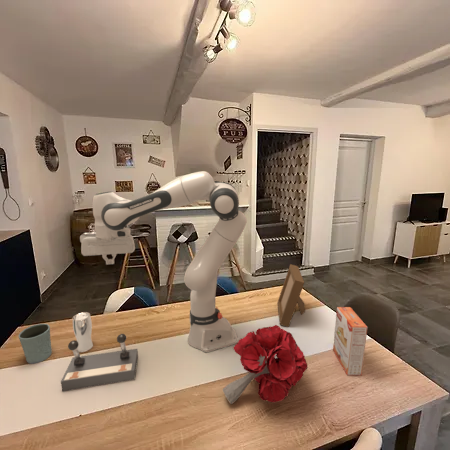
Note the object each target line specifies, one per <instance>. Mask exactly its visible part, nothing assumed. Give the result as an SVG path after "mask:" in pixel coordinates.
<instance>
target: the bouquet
mask: <svg viewBox="0 0 450 450" xmlns="http://www.w3.org/2000/svg"><path fill="white" fill-rule="evenodd" d="M233 350H234V352H235V353H236V354H237V355H239V356H240V359H239V360H240V361H239V362H240V364H241V365H242V367H243V370H245V371H247V372H248V373H246V375H244V376H242V377H239V378H238V379H235V380H233V381H232V382H230V383H228V384H226V385H225V386H224V387H223V388H222V393H224V396H225V399H227V401H228V402H229V404H230V405H232V404H234V403H235V402H236V401H237V400H238V399H239V398H240V397H241V396H242V394H243V393H244V391H245V390H246V388H247V387H248V386H249V384H250V383H252V381H253V380H254V381H255V382H257V383H258V390H257V391H258V392H257V393H258V396H259V398H260V399H261V400H262V401H263V402H269V403H277V402H282V401H283V400H285V399H286V397H288V396H289V393H290V390H291V389H292V388H293V387H295V386H297V383H298V382H299V381H300V380H301V379H302V378H303V376H304V373H305V372H306V371H307V369H308V363H307V361H306V360H307V359H306V358H305V354H304V352H303V351H302V350H301V348H300V346H299V345H298V343H297V341H296V339H295V338H294V337H293V334H292V333H291V332H289V331H287V330H286V329H283V328H281V327H280V325H277V324H274V325H272V326H268V327H265V326H264V327H261V328H258V329H256V331H255V332H254V331H253V330H252V331H250V332H247V334H246V335H245V336H244V337H243V338H240V339H239V340H237V343H236V344H234V345H233Z"/></svg>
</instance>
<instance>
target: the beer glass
mask: <svg viewBox="0 0 450 450" xmlns="http://www.w3.org/2000/svg"><path fill="white" fill-rule="evenodd" d="M92 327H93V323H92V317H91V313H90V312H87V311H83V312H79V313H76V314H75V315H73V317H72V329H73V333H74V336H75V339H76V341H77V342H78V343H79V345H78V351H79V353H85V352H88V351H90V350H91V349H92V348H93V347H94V344H93V340H92V329H93V328H92Z"/></svg>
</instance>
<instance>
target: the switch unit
mask: <svg viewBox="0 0 450 450" xmlns="http://www.w3.org/2000/svg"><path fill="white" fill-rule="evenodd" d="M138 350H139V349H138V348H133V349H132V348H131V349H126V351H129V353H130V355H129V358H126V359H120V353H121V352H122V350H116V351H109V352H103V353H94V354H87V355H82V356H81V355H80V357H81V358H85V363H84V365H77V366H74V360H75V356H73V357H72V358H71V361H70V363H69V364H68V366H67V368H66V370H65V373H64V374H63V376H62V378H61V380H60V384H61V385H60V386H61V392H67V391H72V390H79V389H86V388H92V387H96V386H97V387H99V386H104V385H109V384H110V385H111V384H117V383H122V382H130V381H135V378H136V373H137V367H138V361H139V354H138V353H139V351H138Z"/></svg>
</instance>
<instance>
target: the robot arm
mask: <svg viewBox="0 0 450 450" xmlns="http://www.w3.org/2000/svg"><path fill="white" fill-rule="evenodd" d="M198 201H207V202H209V206H210V208H211V210H212V211H213V213H214V214H215V215H216V216H217V217H219V219H218V221H217V223H216V224H215V225H214V227H213V228H212V230H211V232H210V234H209V235H208V236H207V238H206V240H204V243H203V244H202V246H201V247H200V249H198V252H197V253H196V254H195V256H194V257H193V259H192V260H191V262H190V263H189V265H188V266H187V268H186V270H185V273H184V276H183V281H184V282H183V283H184V284H185V286H186V287H187V288H188V289H190V294H189V295H190V298H189V299H190V303H189V304H190V309H189V325H190V326H189V333H188V337H187V342H188V344H189V345H190V346H191V347H192V348H195V349H198V350H200V351H202V352H203V353H209V352H210V353H211V352H213V351H217V350H220V349H223V348H226V347H230V346H235V345H236V344H237V343H238V335H237V332H236V330H235V329H234V327H232V324H231V323H230V321H229V320H228V318H227V317H224V316H223V315H222V313H221V311H220V309H219V308H218V307H217V306H216V292H217V285H218V284H217V283H218V273H219V272H218V271H219V269H220V268H221V266H222V265H223V263H224V262H225V260H227V257H228V255H229V254H230V252H231V251H232V250H233V248H234V246H235V245H236V244H237V242H238V241H239V239H240V237H241V236H242V234H243V232H244V230H245V227H246V225H247V221H248V220H247V217H246V215H245V214H244V213H243V212H242V211H241V210H239V207H240V200H239V194H238V191H237V189H236V188H235V186H234V185H232V184H231V183H229V182H224V181H219V180H214V177H213V176H212V175H211V174H210V173H209V172H208V171H205V170H203V171H202V170H201V171H195V172H192V173H187V174H185V175H182V176H179V177H177V178H174V179H173V180H171V181H169V182H167V183H166V184H164V185H162V186H161V187H160V188H158V189H156V190H155V191H154V192H151V193H149V194H147V195H145V196H142V197H139V198H136V199H134V200H133V199H132V200H131V199H128V198H124V197H121V196H119V195H117V193H115V192H113V191H105V192H100V193H96V194H94V196H93V198H92V214H93V218H94V232H92V231H91V232H83V233H82V234H81V235H80V236H79V242H80V243H81V246H80V250H81V252H80V253H81V255H82V256H83V257H88V256H89V257H90V256H101V257H102V259H103V260H104V261H105V265H106V266H107V265H115V258H116V256H117V255H118V254H119V255H120V254H121V255H122V254H133V253H134V252H135V250H136V247H135V245H136V244H135V240H134V237H133V235H132V234H131V231H132V230H131V229H130V228H128V227H127V226H129V225H131V224H133V223H135V222H136V221H138V220H139V219H140V218H141V217H143V216H145V215H148V214H151V213H153V212H157V211H158V212H159V211H161V210H168V209H175V208H180V207H181V208H182V207H185V206H188V205H191V204H194V203H196V202H198ZM107 255H111V257H112V258H108V256H107Z"/></svg>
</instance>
